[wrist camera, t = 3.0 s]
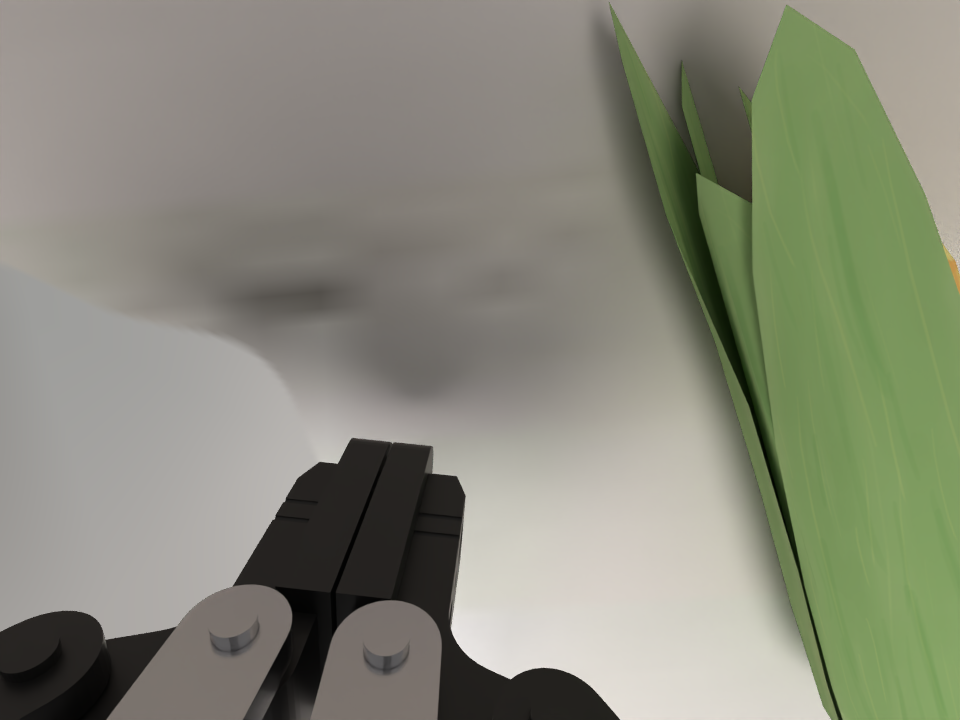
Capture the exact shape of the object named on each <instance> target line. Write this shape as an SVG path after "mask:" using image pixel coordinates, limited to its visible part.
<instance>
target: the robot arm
mask: <svg viewBox="0 0 960 720" xmlns="http://www.w3.org/2000/svg"><path fill="white" fill-rule="evenodd" d="M432 468H433V446H425V445H415V444H406V443H396V442H394V443H393V444H392V442H385V441H376V440H366V439H357V438H352V439H351V440H350V442H349V443H348V445H347V447H346V449H345V451H344V453H343V455H342V457H341V459H340V461H339V463H338V464H334V463H325V462H319V463H318V464H316V465H315V466H314V467H312V468H311V469H310V470H308V471H307V472H305V473H304V474H303V475H302V476H300V477H299V478H298V479H297V480H296V482H295V484H294V485H293V487H292V489H291V490H290V492H289V494H288V496H287V497H286V501H285V502H284V503H283V504H282V505H281V507H280V509H279V510H278V512H277V514H276V517H275V520H272V522H271V524H270V525H269V527H268V529H267V530H266V532H265V534H264V535H263V537H262V539H261V540H260V542H259V544H258V545H257V547H256V549H255V550H254V552H253V554H252V555H251V557H250V559H249V560H248V562H247V564H246V565H245V567H244V569H243V570H242V572H241V574H240V575H239V577H238V579H237V580H236V582H235V584H234V585H233V587H230V588H227V589H224V590H221V591H219V592H216V593H214V594H212V595H210V596H208V597H207V598H205V599H204V600H202V601H201V602H199V603H198V604H197V605H196V606H194V607H193V608H192V609H191V610H190V611H189V612H188V613H187V614H186V616H185V617H184V618H183V619H182V620H181V622H180V623H179V624H178V626H177V627H174V628H170V629H167V630H161V631H156V632H150V633H144V634H138V635H132V636H126V637H120V638H114V639H108V640H105V637H104V633H103V630H102V627H101V625H100V624H99V622H98V621H97V620H96V619H95V618H93V617H92V616H90V615H88V614H85V613H82V612H77V611H59V612H52V613H47V614H43V615H39V616H36V617H33V618H30V619H27V620H25V621H23V622H21V623H18V624H16V625H14V626H11V627H9V628H7V629H5V630H3V631H1V632H0V720H620V719H619V718H618V717H617V716H616V714H615V713H614V712H613V711H612V710H611V709H610V708H609V706H608V705H607V704H606V703H605V702H604V701H603V699H602V698H601V697H600V696H599V695H598V694H597V693H596V692H595V691H594V690H593V689H592V688H591V687H590V686H589V685H588V684H586V683H585V682H584V681H583V680H581V679H579V678H578V677H576V676H574V675H572V674H570V673H567V672H565V671H561V670H557V669H552V668H537V669H531V670H528V671H524V672H522V673H520V674H518V675H516V676H515V677H514V678H512V679H511V680H510V679H508V678H506V677H504V676H502V675H499V674H497V673H495V672H493V671H491V670H488V669H486V668H485V667H483V666H481V665H479V664H477V663H476V662H475V661H473V660H472V659H471V658H469V657H468V656H467V655H466V654H465V653H464V652H463V651H462V649H461V648H460V647H459V645H458V644H457V642H456V640H455V639H454V637H453V635H452V631H451V624H452V616H453V609H454V601H455V594H456V586H457V579H458V572H459V564H460V555H461V544H462V532H463V520H464V508H465V497H466V496H465V493H464V491H463V489H462V487H461V485H460V482H459V480H458V478H457V476H448V475H439V474H432Z"/></svg>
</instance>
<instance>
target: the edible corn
mask: <svg viewBox="0 0 960 720" xmlns="http://www.w3.org/2000/svg"><path fill="white" fill-rule="evenodd" d="M609 5H610V3H609ZM610 10H611V14H612V19H613V23H614V28H615V32H616V37H617V41H618V46H619V50H620V55H621V59H622V63H623V66H624V70H625V73H626V77H627V80H628V84H629V87H630V91H631V94H632V98H633V101H634V105H635V108H636V112H637V115H638V119H639V122H640V126H641V129H642V133H643V136H644V140H645V143H646V147H647V150H648V154H649V157H650V161H651V164H652V168H653V171H654V175H655V178H656V182H657V185H658V189H659V192H660V196H661V199H662V203H663V206H664V210H665V213H666V217H667V219H668V222H669V224H670V227H671V230H672V232H673V235H674V237H675V240H676V243H677V245H678V248H679V250H680V253H681V255H682V258H683V261H684V263H685V266H686V268H687V271H688V274H689V276H690V279H691V281H692V284H693V286H694V289H695V292H696V294H697V297H698V299H699V302H700V304H701V307H702V310H703V312H704V315H705V317H706V320H707V323H708V325H709V328H710V330H711V333H712V335H713V338H714V341H715V344H716V347H717V350H718V354H719V357H720V360H721V363H722V367H723V370H724V373H725V377H726V380H727V383H728V387H729V390H730V393H731V397H732V400H733V403H734V406H735V410H736V413H737V416H738V420H739V423H740V426H741V430H742V433H743V436H744V440H745V443H746V446H747V449H748V453H749V456H750V459H751V463H752V466H753V469H754V473H755V476H756V479H757V483H758V486H759V489H760V492H761V496H762V500H763V503H764V507H765V511H766V514H767V518H768V522H769V525H770V529H771V533H772V536H773V540H774V544H775V548H776V551H777V555H778V559H779V562H780V566H781V570H782V573H783V577H784V581H785V585H786V588H787V592H788V596H789V599H790V603H791V607H792V610H793V613H794V616H795V619H796V622H797V625H798V628H799V632H800V635H801V638H802V641H803V644H804V647H805V650H806V654H807V657H808V660H809V663H810V666H811V669H812V673H813V676H814V679H815V682H816V685H817V689H818V692H819V695H820V698H821V701H822V704H823V707H824V708H825V710H826V712H827V713H828V715H829V717H830V718H831V720H960V274H959V271H958V268H957V265H956V262H955V260H954V259H953V257H952V256H951V255H950V253H949V252H948V251H947V249H946V248H945V246H944V245H943V244H942V242H941V239H940V236H939V233H938V230H937V227H936V224H935V222H934V219H933V216H932V213H931V210H930V207H929V204H928V201H927V198H926V195H925V193H924V191H923V189H922V187H921V185H920V183H919V181H918V179H917V177H916V175H915V173H914V171H913V169H912V167H911V164H910V162H909V160H908V158H907V156H906V154H905V152H904V150H903V148H902V146H901V144H900V142H899V140H898V138H897V136H896V134H895V132H894V130H893V128H892V126H891V123H890V121H889V119H888V117H887V115H886V113H885V111H884V109H883V107H882V105H881V103H880V101H879V99H878V97H877V95H876V93H875V91H874V89H873V87H872V84H871V82H870V80H869V78H868V76H867V74H866V72H865V70H864V68H863V66H862V64H861V62H860V60H859V58H858V56H857V54H856V52H855V50H854V49H853V48H851V47H850V46H848V45H847V44H845V43H844V42H842V41H841V40H839V39H838V38H836V37H835V36H833V35H832V34H830V33H829V32H827V31H826V30H824V29H823V28H821V27H820V26H818V25H817V24H815V23H813V22H812V21H810V20H809V19H807V18H806V17H804V16H803V15H801V14H800V13H798V12H797V11H795V10H794V9H792V8H791V7H789V6H788V5H786V7H785V10H784V13H783V15H782V18H781V21H780V24H779V26H778V29H777V32H776V35H775V37H774V40H773V43H772V46H771V48H770V51H769V54H768V57H767V59H766V62H765V65H764V68H763V70H762V73H761V76H760V79H759V81H758V84H757V87H756V90H755V92H754V95H753V98H752V103H751V102H750V100H749V99H748V98H747V96H746V95H745V94H744V93H743V91H742V90H741V89H740V87H739V90H740V93H741V97H742V100H743V104H744V107H745V111H746V114H747V118H748V122H749V125H750V129H751V132H752V203H750V202H748V201H746V200H745V199H743V198H741V197H739V196H737V195H735V194H734V193H732V192H730V191H728V190H726V189H725V188H723V187H721V186H719V185H718V182H717V178H716V175H715V171H714V168H713V165H712V161H711V158H710V154H709V151H708V148H707V144H706V141H705V138H704V134H703V131H702V127H701V124H700V121H699V117H698V114H697V110H696V107H695V104H694V100H693V97H692V93H691V90H690V87H689V83H688V80H687V76H686V73H685V70H684V66H683V63H682V109H683V112H684V116H685V120H686V123H687V127H688V131H689V134H690V138H691V142H692V145H693V149H694V153H695V156H696V160H697V164H698V167H699V171H700V173H699V171H698V169H697V167H696V166H695V164H694V162H693V160H692V158H691V156H690V154H689V152H688V150H687V148H686V147H685V145H684V143H683V141H682V139H681V137H680V135H679V133H678V131H677V129H676V128H675V126H674V124H673V122H672V120H671V118H670V116H669V114H668V112H667V111H666V109H665V107H664V105H663V103H662V101H661V99H660V97H659V95H658V93H657V92H656V90H655V88H654V86H653V84H652V82H651V80H650V78H649V76H648V74H647V73H646V71H645V69H644V67H643V65H642V63H641V61H640V59H639V57H638V55H637V54H636V52H635V50H634V48H633V46H632V44H631V42H630V40H629V38H628V37H627V35H626V33H625V31H624V29H623V27H622V25H621V23H620V22H619V20H618V18H617V16H616V14H615V12H614V10H613V8H612V7H611V5H610Z"/></svg>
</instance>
